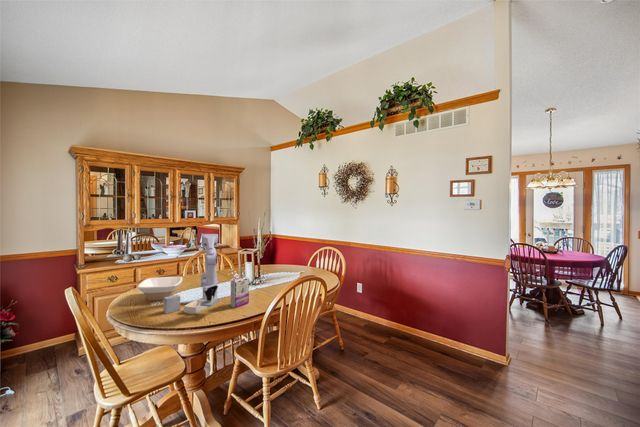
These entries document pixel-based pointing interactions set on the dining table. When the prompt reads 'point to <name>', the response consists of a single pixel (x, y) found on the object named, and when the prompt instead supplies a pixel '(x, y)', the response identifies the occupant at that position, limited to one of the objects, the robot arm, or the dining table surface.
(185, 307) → the box
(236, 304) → the candy bar box
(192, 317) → the dining table surface
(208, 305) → the lid
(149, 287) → the bowl
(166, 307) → the medicine box
